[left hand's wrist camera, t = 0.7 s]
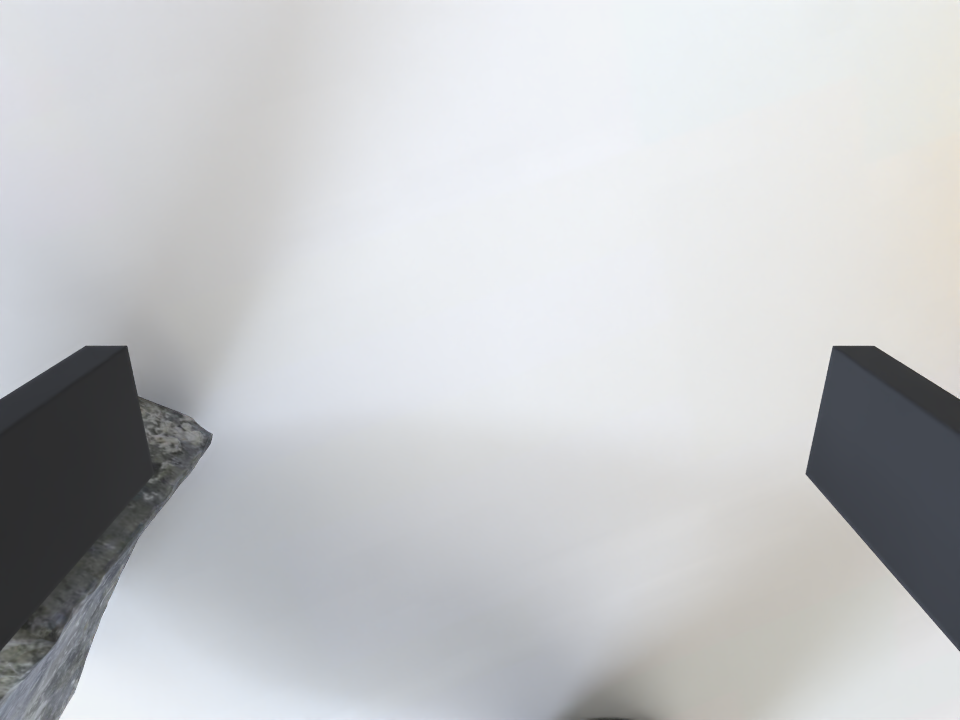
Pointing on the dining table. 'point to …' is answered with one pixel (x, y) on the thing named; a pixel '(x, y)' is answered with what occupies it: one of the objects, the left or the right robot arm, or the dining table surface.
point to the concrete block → (93, 580)
